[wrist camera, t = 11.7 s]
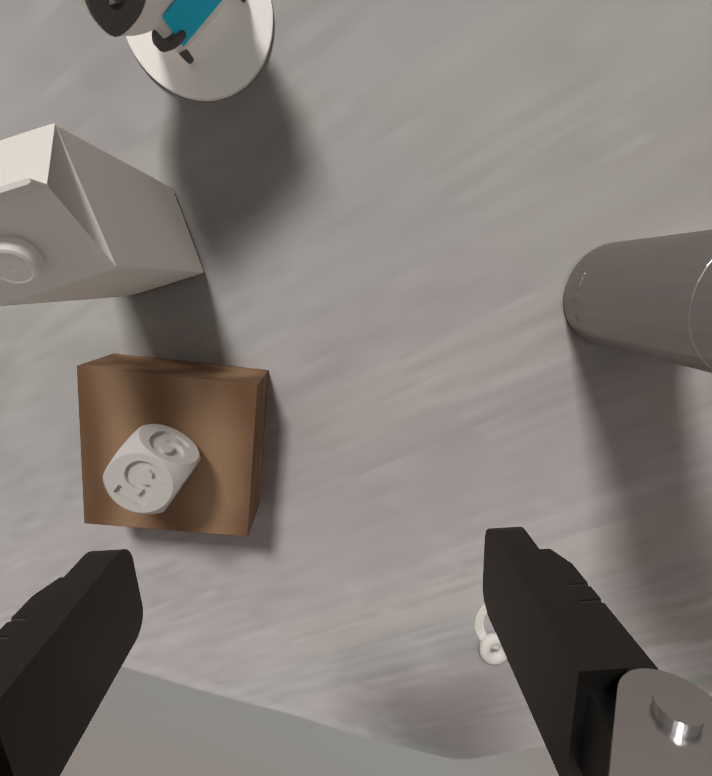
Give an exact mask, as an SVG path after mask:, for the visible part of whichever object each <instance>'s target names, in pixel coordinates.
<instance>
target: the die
mask: <svg viewBox="0 0 712 776" xmlns="http://www.w3.org/2000/svg"><path fill="white" fill-rule="evenodd" d="M200 459H201V457H200V453H199V451H198V448H197V446H196V445H195V444H194V442H193V441H192V440H191V439H190V438H189V437H187V436H186V435H185V434H183V433H182V432H180V431H178V430H176V429H174V428H171V427H169V426H165V425H160V424H148V425H143V426H141V427H140V428H138V429H137V430H136V431H135V432H134V433H133V434H132V435H131V436H130V437H129V438H128V439H127V441H126V442H125V443H124V444H123V445H122V446H121V448H120V449H119V450H118V452H117V453H116V454H115V456H114V457H113V458H112V460H111V461H110V463H109V464H108V466H107V468H106V470H105V472H104V474H103V482H104V486H105V488H106V490H107V492H108V494H109V495H110V497H111V498H112V499H113V500H114V501H115V502H116V503H117V504H118V505H119V506H121V507H123V508H124V509H126V510H129V511H131V512H134V513H139V514H157V513H162V512H164V511H165V510H166V508H167V507H168V506H169V504H170V503H171V502H172V500H173V499H174V497H175V496H176V495H177V493H178V492H179V490H180V489H181V488H182V486H183V485H184V483H185V482H186V480H187V479H188V477H189V476H190V474H191V473H192V472H193V470H194V469H195V467H196V466H197V464H198V462H199V461H200Z"/></svg>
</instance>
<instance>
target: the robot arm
mask: <svg viewBox="0 0 712 776" xmlns="http://www.w3.org/2000/svg"><path fill="white" fill-rule="evenodd" d="M564 310H565V314H566V318H567V320H568V322H569V324H570V326H571V327H572V329H573V330H574V331H575V332H576V333H577V334H578V335H579V336H580V337H582V338H583V339H585V340H587V341H589V342H592V343H595V344H599V345H603V346H607V347H611V348H615V349H619V350H622V351H626V352H630V353H634V354H638V355H642V356H646V357H650V358H654V359H658V360H662V361H666V362H670V363H674V364H678V365H682V366H686V367H690V368H694V369H698V370H702V371H706V372H710V373H712V230H706V231H698V232H690V233H683V234H675V235H668V236H660V237H652V238H643V239H636V240H628V241H621V242H614V243H610V244H606V245H603V246H601V247H599V248H597V249H595V250H593V251H592V252H590V253H589V254H588V255H586V256H585V257H584V258H583V259H582V260H581V261H580V262H579V263H578V264H577V265H576V267H575V269H574V270H573V272H572V273H571V275H570V277H569V280H568V282H567V285H566V288H565V294H564ZM483 595H484V602H485V606H486V610H487V613H488V616H489V619H490V621H491V623H492V625H493V628H494V630H495V632H496V634H497V637H498V639H499V641H500V643H501V646H502V648H503V650H504V652H505V655H506V657H507V659H508V661H509V664H510V666H511V668H512V670H513V673H514V675H515V677H516V679H517V682H518V684H519V686H520V688H521V691H522V693H523V695H524V697H525V700H526V702H527V704H528V706H529V709H530V711H531V713H532V715H533V718H534V720H535V722H536V724H537V727H538V729H539V731H540V734H541V736H542V738H543V740H544V743H545V745H546V747H547V749H548V751H549V754H550V756H551V758H552V761H553V763H554V765H555V767H556V770H557V772H558V774H559V776H712V697H710V696H709V695H708V694H707V693H706V692H704V691H703V690H701V689H700V688H698V687H697V686H695V685H694V684H692V683H690V682H688V681H687V680H685V679H683V678H680V677H678V676H676V675H673V674H671V673H668V672H665V671H661V670H659V669H658V668H657V667H656V666H655V664H654V663H653V662H652V661H651V660H650V658H649V657H648V656H647V655H646V654H645V652H644V651H643V650H642V649H641V647H640V646H639V645H638V644H637V643H636V641H635V640H634V639H633V638H632V636H631V635H630V634H629V633H628V632H627V630H626V629H625V628H624V627H623V625H622V624H621V623H620V622H619V621H618V619H617V618H616V617H615V616H614V614H613V613H612V612H611V611H610V610H609V608H608V607H607V606H606V605H605V603H602V602H601V599H600V597H599V596H598V595H597V594H596V593H595V591H594V590H593V589H592V588H591V586H590V587H588V584H587V582H586V580H585V579H584V578H583V577H582V575H581V574H580V573H579V572H578V571H577V569H576V568H575V567H574V566H573V564H571V563H570V562H569V561H567V560H566V559H564V558H563V557H561V556H560V555H558V554H557V553H555V552H554V551H552V550H551V549H539V548H538V547H537V545H536V544H535V543H534V541H533V540H532V539H531V537H530V536H529V535H528V533H527V532H526V531H525V529H524V528H522V527H509V528H492V529H487V531H486V534H485V548H484V571H483ZM142 618H143V607H142V601H141V596H140V592H139V587H138V582H137V577H136V572H135V567H134V562H133V558H132V555H131V553H130V552H129V551H128V550H126V549H122V550H105V551H91V552H88V553H86V554H85V555H84V556H83V557H82V558H81V559H80V560H79V561H78V563H77V564H76V565H75V566H74V567H73V568H72V569H71V570H70V571H69V572H68V573H67V574H66V576H65V577H62V578H58V579H57V580H56V581H54V582H53V583H51V584H50V585H48V586H47V587H45V588H44V589H42V590H41V591H39V592H38V593H36V594H35V595H34V596H32V597H31V598H30V599H29V600H28V601H27V602H26V603H25V604H24V605H23V607H22V608H21V609H20V610H19V611H18V612H17V613H16V614H15V615H14V616H13V617H12V620H11V622H7V623H6V624H5V625H4V626H3V627H2V628H1V629H0V776H60V774H61V772H62V771H63V769H64V767H65V765H66V764H67V762H68V760H69V758H70V756H71V755H72V753H73V751H74V749H75V748H76V746H77V744H78V742H79V741H80V739H81V737H82V735H83V733H84V732H85V730H86V728H87V726H88V724H89V723H90V721H91V719H92V717H93V716H94V714H95V712H96V710H97V709H98V707H99V705H100V703H101V701H102V700H103V698H104V696H105V694H106V693H107V691H108V689H109V687H110V685H111V683H112V682H113V680H114V678H115V676H116V675H117V673H118V671H119V669H120V668H121V666H122V664H123V662H124V661H125V659H126V657H127V655H128V653H129V652H130V650H131V648H132V646H133V645H134V643H135V641H136V639H137V637H138V635H139V632H140V628H141V624H142Z"/></svg>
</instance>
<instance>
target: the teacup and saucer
mask: <svg viewBox="0 0 712 776" xmlns="http://www.w3.org/2000/svg"><path fill="white" fill-rule="evenodd" d="M486 613H487V610H486V606H485V604H484V605H483V606H482V607H481V609H480V610H479V612H478V613H477V616H476V619H475V631H476V634H477V636H478V638H479V639H480V640H481V642H480V646H479V651H480V655H481V657H482V659H483V660H484V661H485V662H487V663H489V664H492V665H497V664H501V663H502V662H504V661H505V660H506V659H507V657H506V655H505V652H504V650H503V648H502V646H501V643H500V641H499V639H498V637H497V634H496V632H492V633H489V634H486V632H485V630H484V626H483V622H484V617H485V615H486ZM491 648H493V649H496V650H497V651H496V652H491V651H490V649H491Z"/></svg>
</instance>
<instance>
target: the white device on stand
mask: <svg viewBox="0 0 712 776" xmlns="http://www.w3.org/2000/svg"><path fill="white" fill-rule="evenodd" d="M76 1H77V2H78V4H79V5H80V6H81V7H82V8H83V9H84V10H85V11H86V12H87V13H88V14H89V16H90V17H91V18H92V19H93V20H94V21H95V22H96V23H97V24H98V25H99V26H100V27H101V28H102V29H103V30H104V31H105V32H107V33H108V34H109V35H111V36H114V37H117V36H126V37H127V40H128V42H129V45H130V47H131V49H132V51H133V53H134V54H135V56H136V57H137V59H138V61H139V62H140V63H141V65H142V66H143V67H144V69H145V70H146V71H147V72H148V73H149V74H150V75H151V76H152V77H153V78H154V79H155V80H156V81H157V82H158V83H159V84H161V85H162V86H163V87H165V88H166V89H168V90H169V91H171V92H173V93H175V94H177V95H179V96H182V97H184V98H187V99H192V100H197V101H216V100H221V99H225V98H227V97H230V96H232V95H234V94H236V93H238V92H239V91H241V90H242V89H244V88H245V87H246V86H247V85H249V84H250V83H251V82H252V80H253V79H254V78H255V77H256V76H257V74H258V73H259V71H260V70H261V68H262V67H263V65H264V63H265V61H266V58H267V56H268V53H269V49H270V46H271V41H272V35H273V10H272V3H271V0H76Z"/></svg>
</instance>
